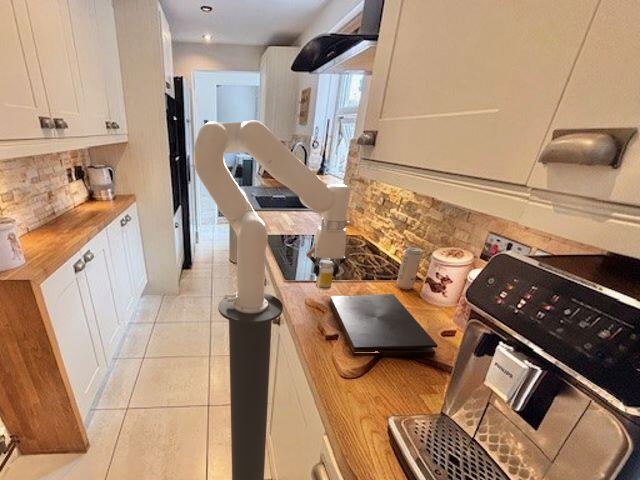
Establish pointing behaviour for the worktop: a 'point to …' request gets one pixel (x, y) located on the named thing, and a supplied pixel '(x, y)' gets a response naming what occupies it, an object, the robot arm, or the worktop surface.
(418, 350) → the laptop
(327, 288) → the supplement bottle
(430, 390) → the worktop surface
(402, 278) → the energy drink can
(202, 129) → the robot arm
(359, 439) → the worktop surface
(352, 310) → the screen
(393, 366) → the worktop surface
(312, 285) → the worktop surface
